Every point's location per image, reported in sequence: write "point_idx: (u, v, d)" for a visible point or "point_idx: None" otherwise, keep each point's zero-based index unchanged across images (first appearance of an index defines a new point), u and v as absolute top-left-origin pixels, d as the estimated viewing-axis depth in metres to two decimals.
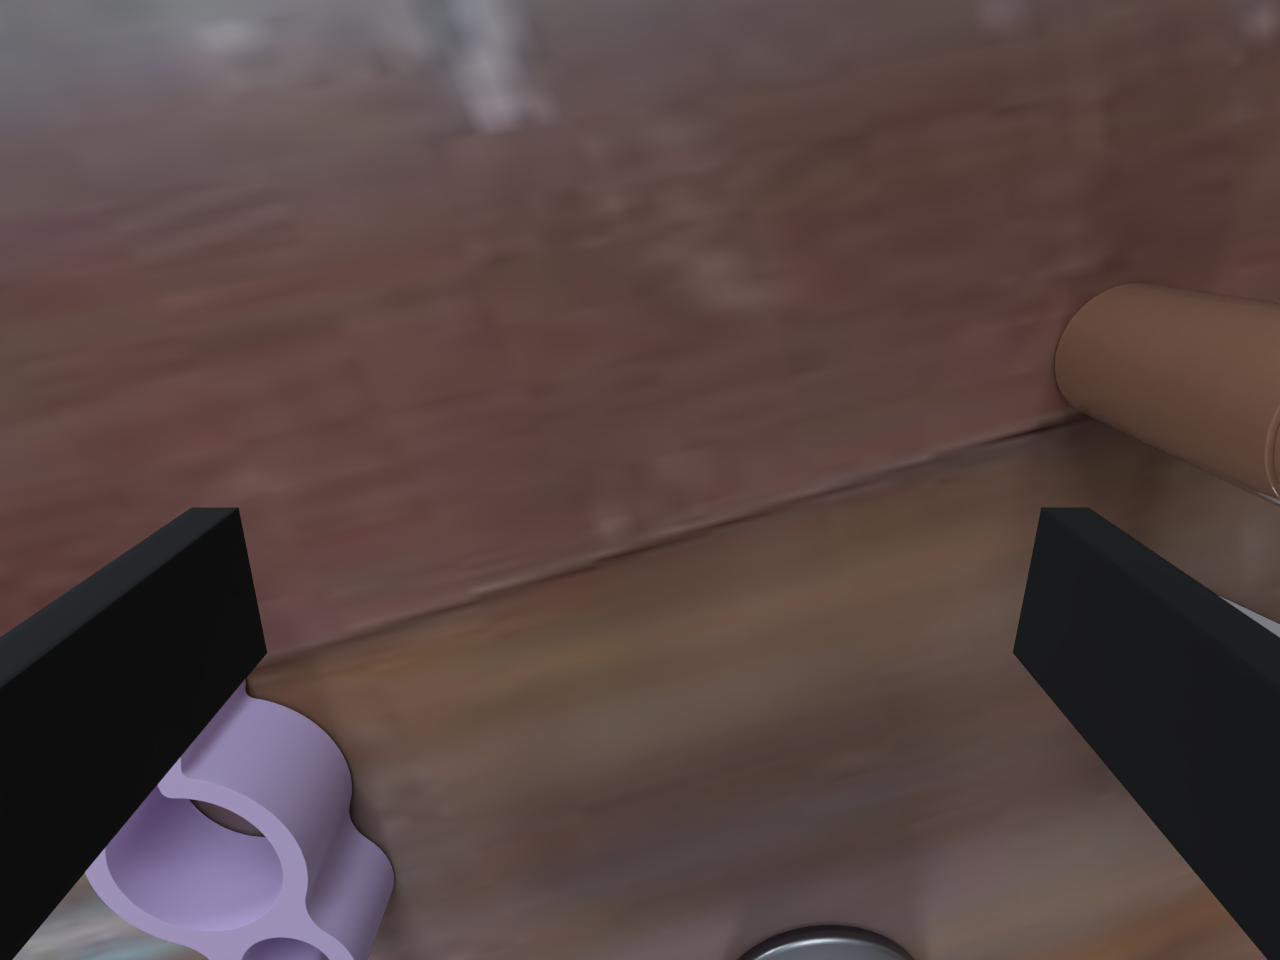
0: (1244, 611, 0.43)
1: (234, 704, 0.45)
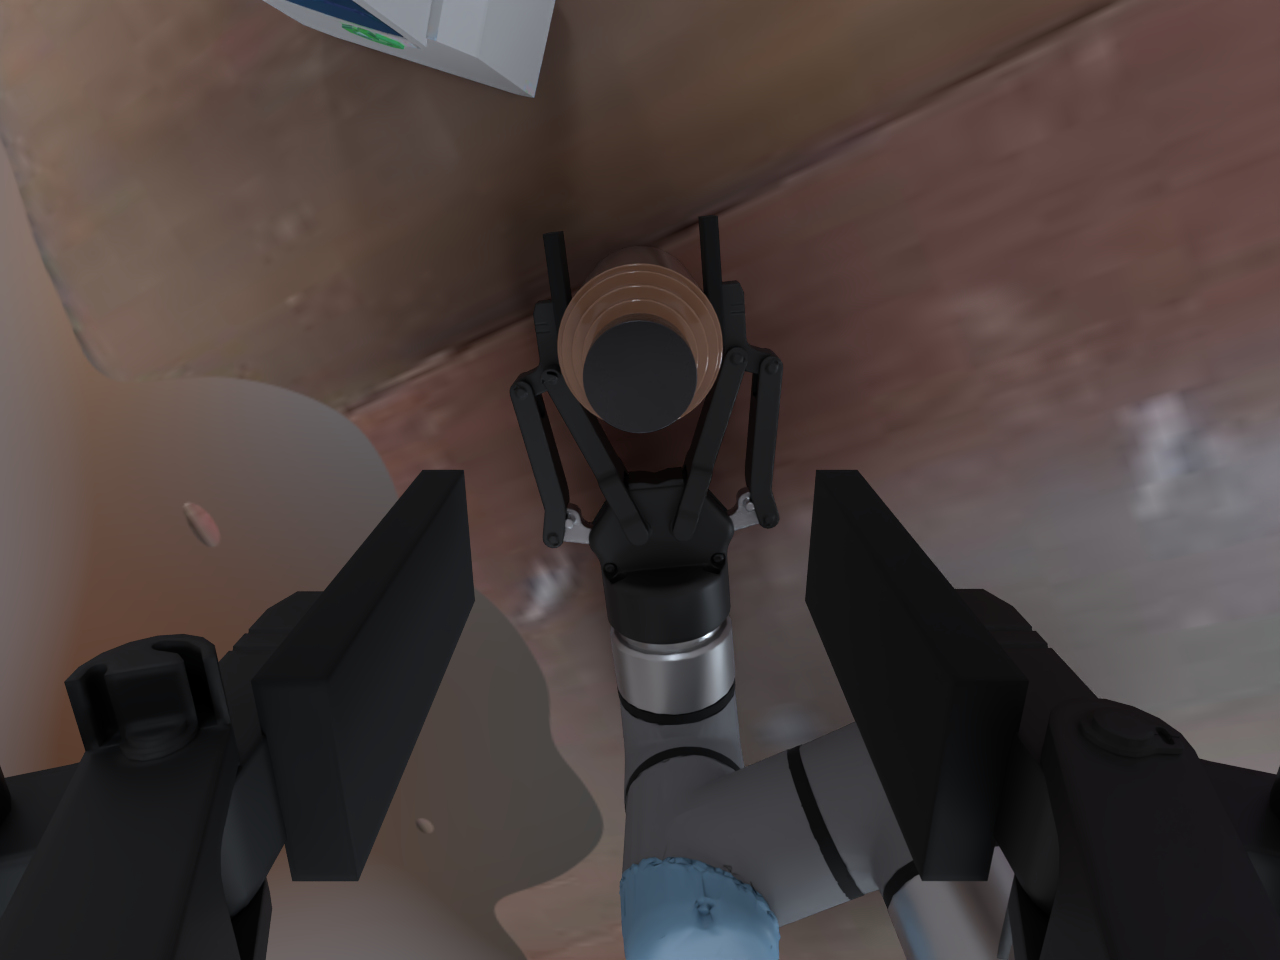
0: (430, 64, 0.40)
1: None
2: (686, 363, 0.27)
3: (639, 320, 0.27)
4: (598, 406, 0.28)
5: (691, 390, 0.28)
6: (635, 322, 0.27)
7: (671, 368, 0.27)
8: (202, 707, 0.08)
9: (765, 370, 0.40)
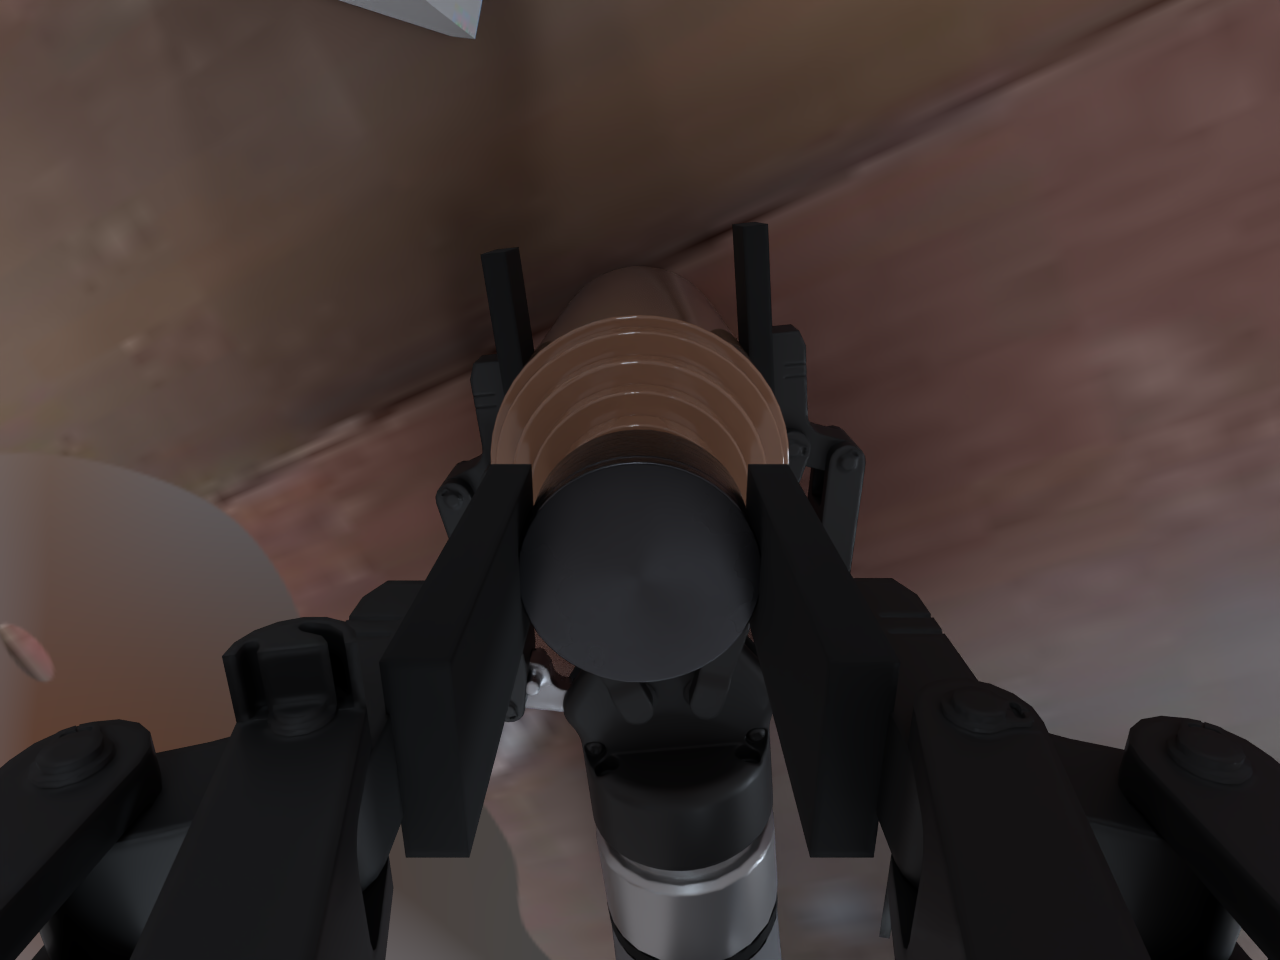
0: None
1: None
2: (740, 549, 0.13)
3: (638, 461, 0.12)
4: (552, 632, 0.13)
5: (749, 601, 0.13)
6: (629, 467, 0.12)
7: (707, 559, 0.13)
8: (340, 688, 0.08)
9: (837, 467, 0.25)
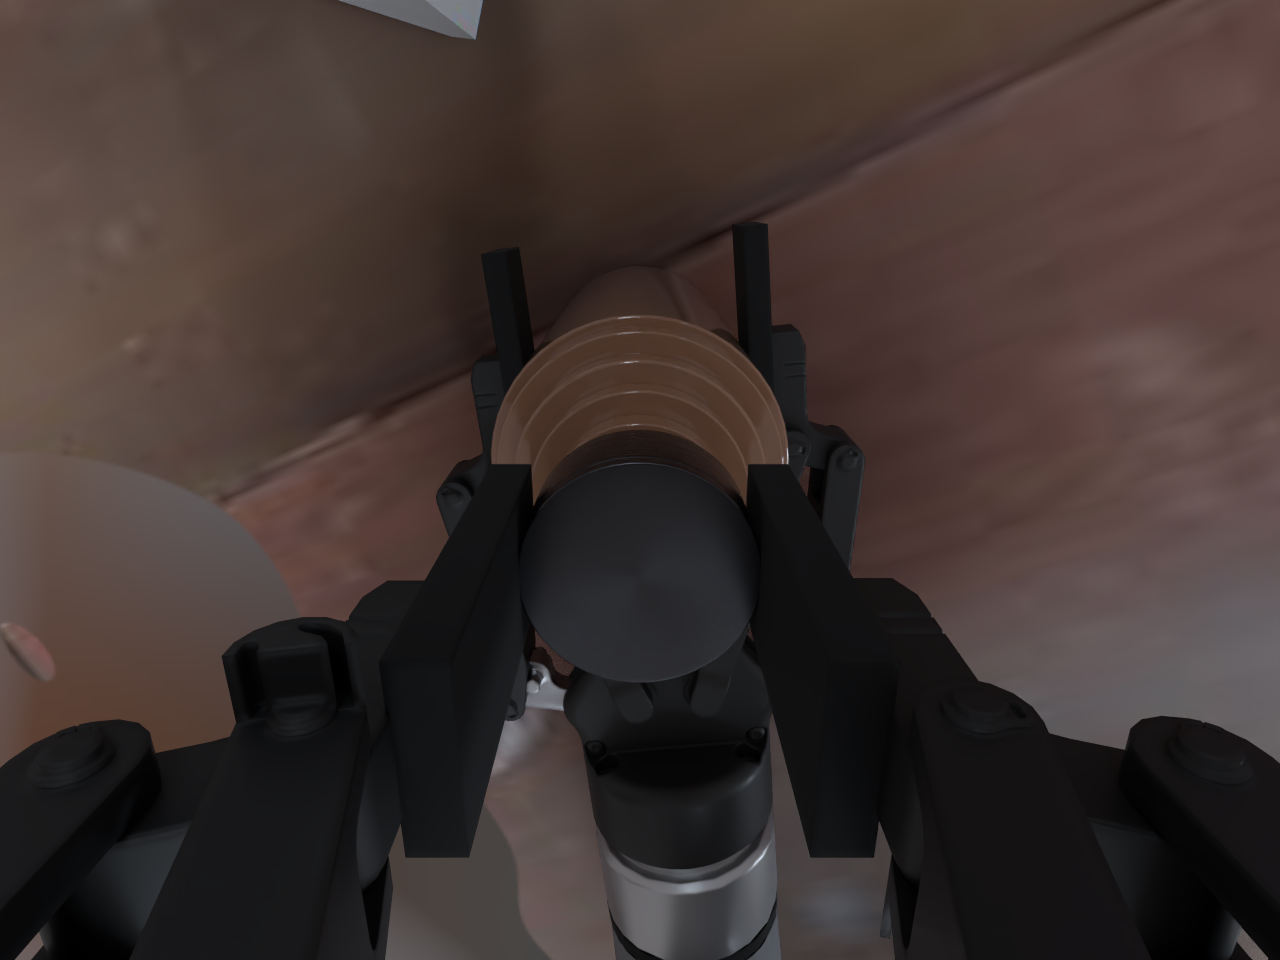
0: None
1: None
2: (616, 483, 0.12)
3: None
4: (690, 660, 0.13)
5: (679, 476, 0.12)
6: (520, 577, 0.13)
7: (625, 515, 0.12)
8: (340, 688, 0.08)
9: (837, 466, 0.25)
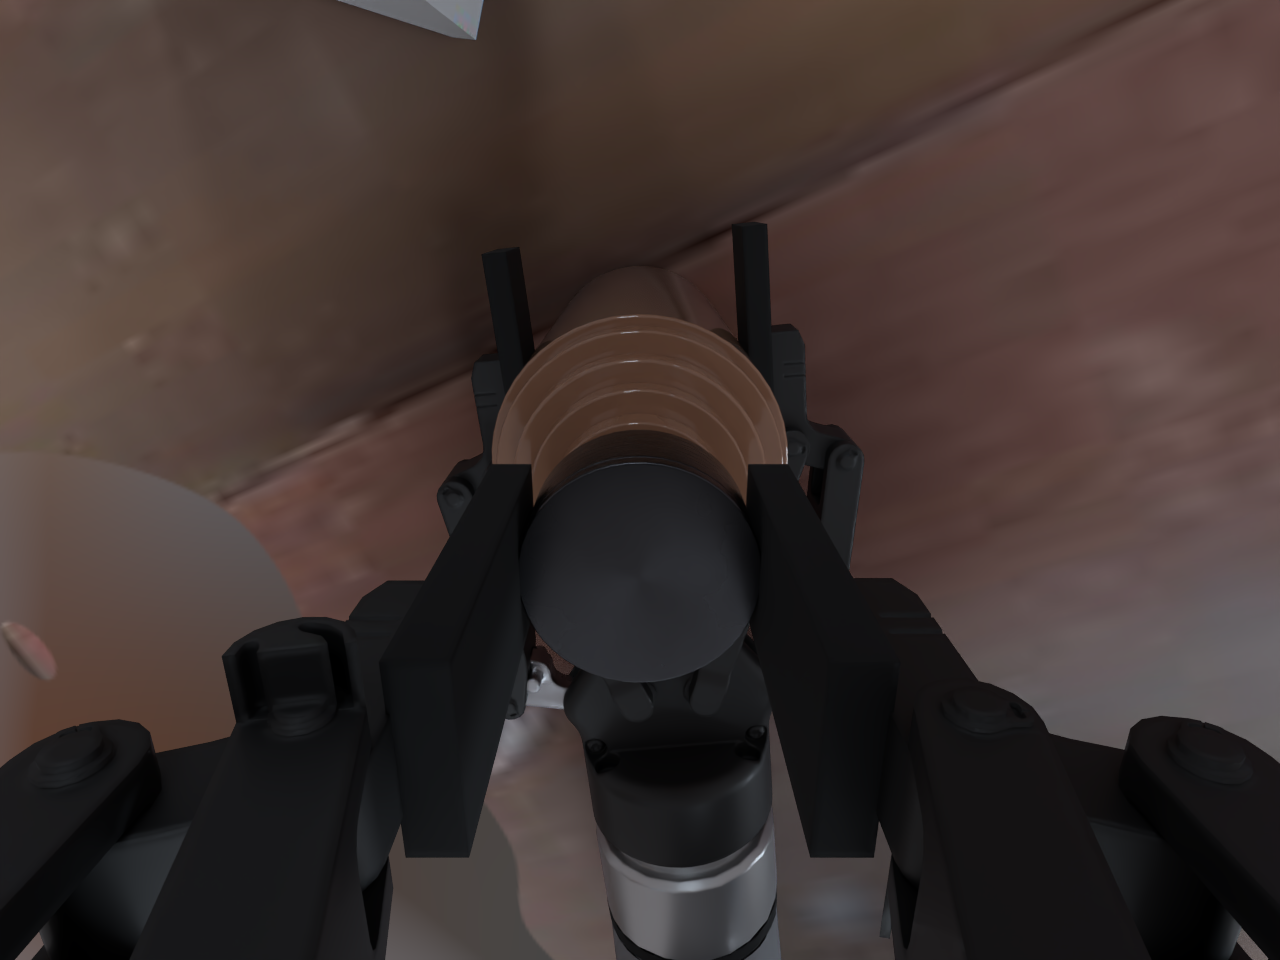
0: None
1: None
2: (536, 588, 0.13)
3: (617, 678, 0.13)
4: (742, 539, 0.12)
5: (534, 533, 0.12)
6: (625, 680, 0.13)
7: (569, 585, 0.13)
8: (338, 690, 0.08)
9: (836, 465, 0.25)
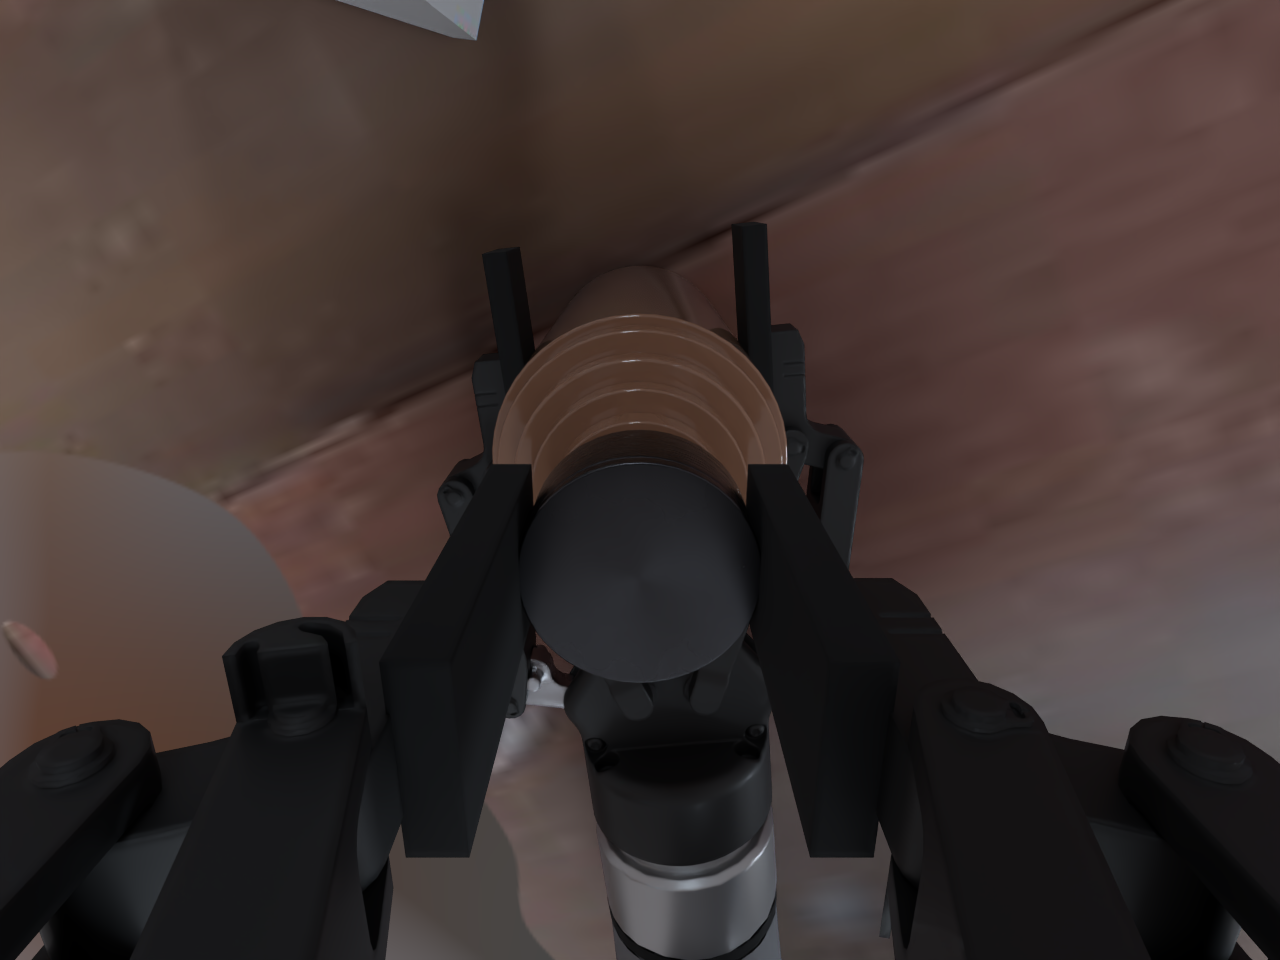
0: None
1: None
2: (640, 667, 0.13)
3: (754, 608, 0.13)
4: (605, 479, 0.12)
5: (582, 661, 0.13)
6: (754, 603, 0.13)
7: (639, 640, 0.13)
8: (339, 689, 0.08)
9: (836, 465, 0.25)
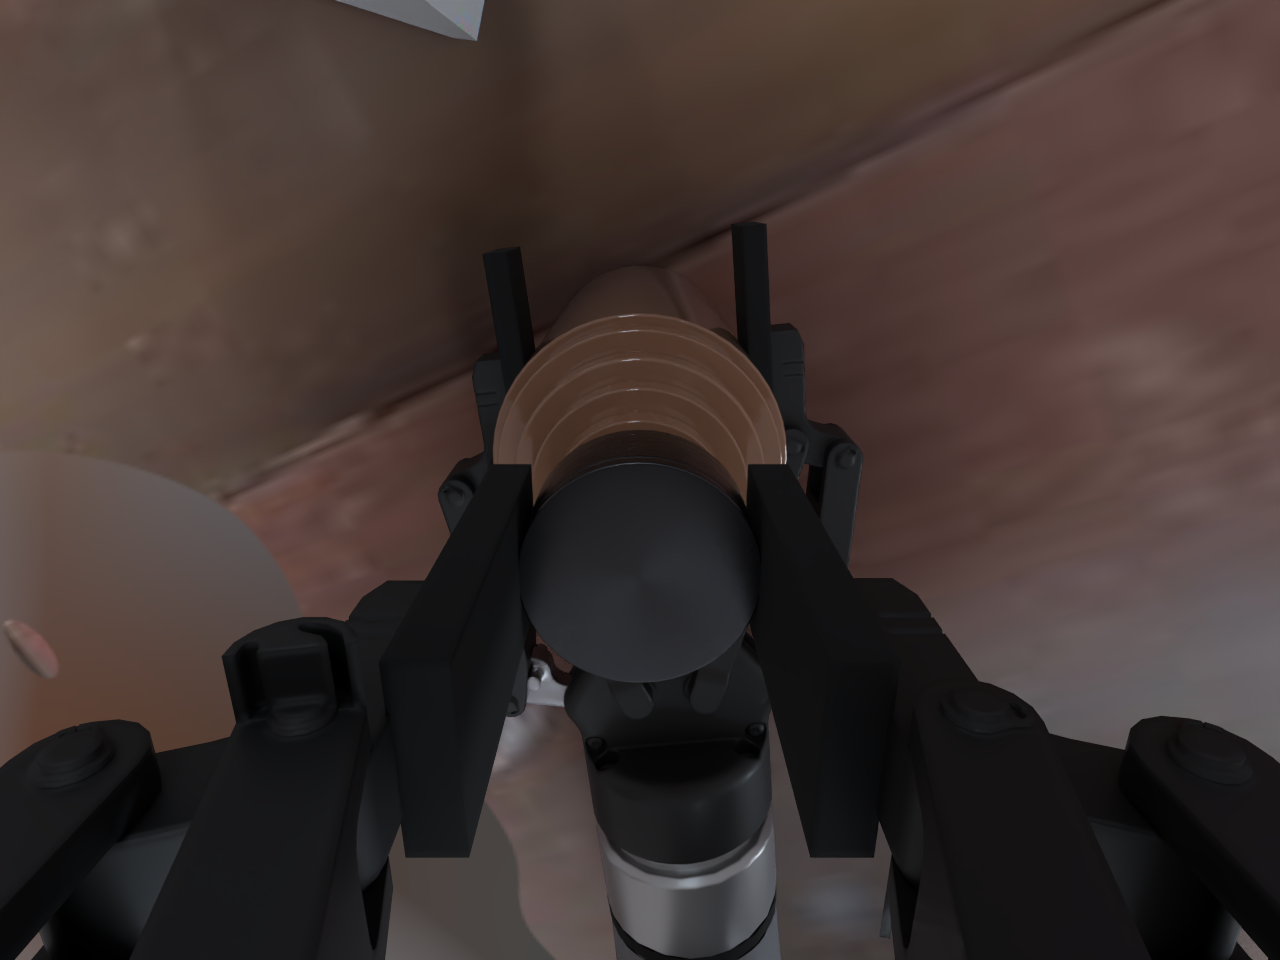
0: None
1: None
2: (742, 587, 0.13)
3: (689, 471, 0.12)
4: (533, 597, 0.13)
5: (728, 638, 0.13)
6: (680, 473, 0.12)
7: (709, 585, 0.13)
8: (339, 688, 0.08)
9: (835, 464, 0.26)
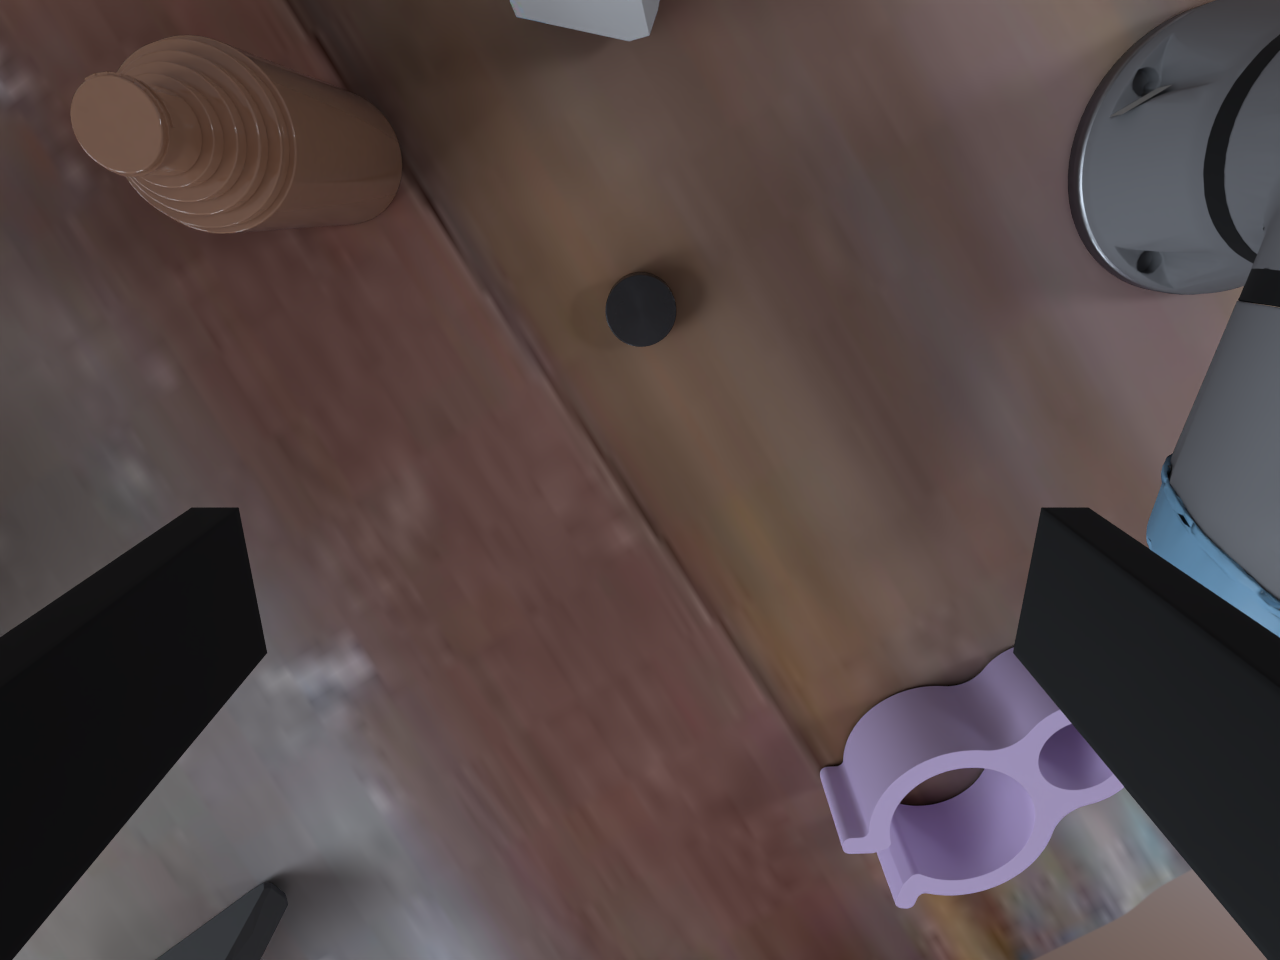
0: None
1: (841, 778, 0.57)
2: (670, 314, 0.44)
3: (654, 278, 0.44)
4: (610, 317, 0.45)
5: (666, 331, 0.45)
6: (652, 278, 0.44)
7: (661, 313, 0.44)
8: None
9: None
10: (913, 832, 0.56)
